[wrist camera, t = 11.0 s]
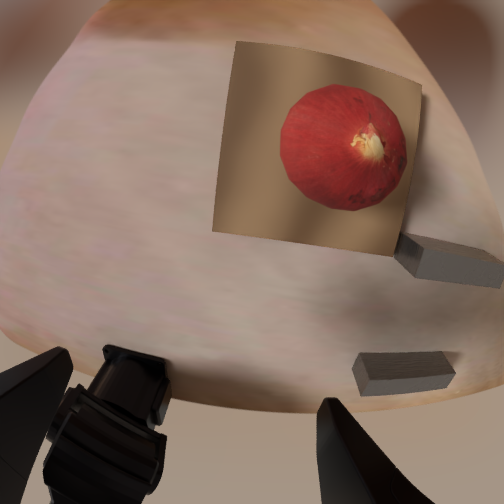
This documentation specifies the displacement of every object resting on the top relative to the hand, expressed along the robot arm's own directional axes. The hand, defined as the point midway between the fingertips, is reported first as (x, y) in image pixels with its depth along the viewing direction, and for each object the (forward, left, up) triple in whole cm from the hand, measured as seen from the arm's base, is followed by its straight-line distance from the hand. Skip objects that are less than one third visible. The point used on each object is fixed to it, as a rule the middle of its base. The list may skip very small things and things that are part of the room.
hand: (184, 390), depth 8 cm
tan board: (+5, +8, -12) cm, 15 cm away
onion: (+5, +8, -11) cm, 14 cm away
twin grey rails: (+17, -3, -12) cm, 21 cm away
